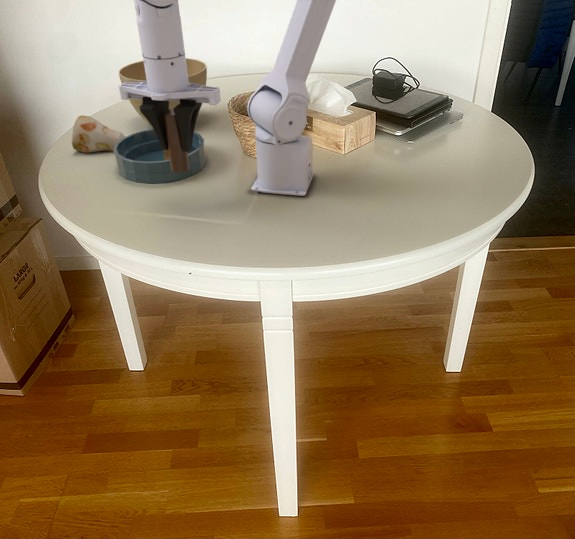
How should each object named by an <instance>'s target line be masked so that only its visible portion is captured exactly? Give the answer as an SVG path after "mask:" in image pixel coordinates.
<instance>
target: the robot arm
mask: <svg viewBox="0 0 575 539" xmlns="http://www.w3.org/2000/svg"><path fill="white" fill-rule="evenodd" d="M336 2H337V0H296V2H295V6H294V9H293V11H292V13H291V17H290V20H289V23H288V26H287V28H286V32H285V34H284V37H283V39H282V43H281V46H280V49H279V51H278V54H277V57H276V60H275V63H274V66H273V69H272V70H271V71H270V72H268V73H267V74H265V75H264V76H263V77H261V79H260V83H259V85H258V87H257V88H256V90H255V91H254V92H253V93H252V94H251V96H250V97H249V99H248V102H247V108H246V110H247V115H248V118H249V119H250V121H251V122H252V123H253V124H254V129H255V132H254V136H255V137H254V138H255V152H256V153H255V154H256V156H255V157H256V173H257V178H256V179H255V181H254V182H253V184H252V186H251V188H250V190H252V191H257V193H262V194H263V193H264V194H276V195H285V196H286V195H288V196H299V197H305V196H306V195H307V191H308V190H309V187H310V185H311V182H312V180H313V178H314V174H313V156H314V155H313V150H314V147H313V146H314V144H313V138H312V137H310V136H306V135H302V133H303V132H304V130H305V128H306V127H307V120H308V116H307V114H308V111H307V110H308V107H309V104H310V102H311V98H310V94H309V90H308V87H307V84H306V82H307V79H308V77H309V74H310V71H311V69H312V66H313V63H314V60H315V58H316V55H317V52H318V50H319V48H320V45H321V41H322V39H323V36H324V34H325V31H326V29H327V25H328V24H329V21H330V18H331V15H332V12H333V11H334V7H335V4H336ZM133 3H134V9H135V14H136V25H137V31H138V37H139V43H140V50H141V55H142V61H144V67H145V73H146V79H147V82H125V83H123V84H122V83H121V84H119V86H118V90H119V95H120V99H121V100H122V101H123V100H124V101H125V100H126V101H129V99H130V98H132V99H142V100H143V102H142V105H141V106H140V111H141V113H142V114H143V115H144V116H145V117H146V119H147V120H148V121H149V123H150V124H151V126H150V127H151V129H154V131H155V133H156V135H157V137H158V139H159V141H160V144H161V146H162V149H163V150H167V149H168V146H167V139H166V133H165V126H164V120H163V112H164V111H165V110H169V101H180V104H178V105H177V106H176V107H175V108H173V110H174V113H175V116H176V119H177V122H178V125H179V129H180V134H181V143H182V148H183V152H188V151H189V150H190V149H191V148H192V146H193V134H194V132H195V129H196V128H195V127H196V123H197V119H198V116H199V113H200V110H201V108H202V106H203V104H209V105H210V106H217V105H218V104H220V102H221V100H222V99H221V90H220V89H221V88H220V87H219V86H218V87H217V86H216V87H215V86H209V85H206V86H204V85H199V84H194V83H189V81H188V73H187V65H186V58H187V57H186V51H185V50H186V49H185V42H184V34H183V25H182V16H181V13H180V4H179V0H133Z"/></svg>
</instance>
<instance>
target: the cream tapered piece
mask: <svg viewBox="0 0 575 539" xmlns="http://www.w3.org/2000/svg"><path fill="white" fill-rule="evenodd" d="M124 137H126V135H124V133H123V132H121V131H118V130H114V129H111V128H109V127H108V126H107V125H105V124H103V123H102V122H100V121H99V120H97V119H95V118H93V117H92V116H89V115H78V116H77V118H76V119H75V121H74V124H73V128H72V135H71V145H72V149H73V150H74V151H77V152H80V153H83V154H84V153H86V154H87V153H88V154H89V153H97V152H104V151H110V152H114V151H113V149H114V146H115V144H116V143H117V142H118V141H120V140H121V139H122V138H124Z"/></svg>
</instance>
